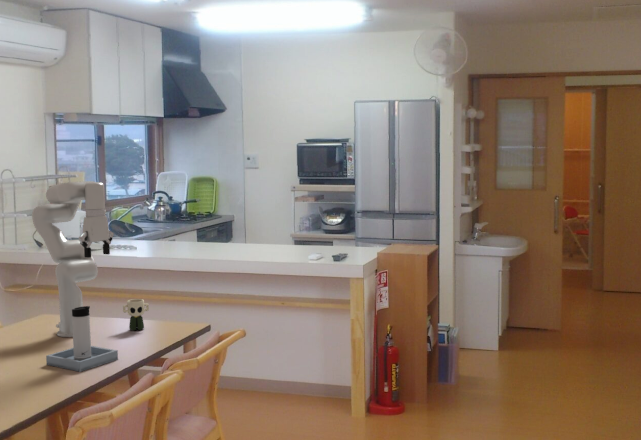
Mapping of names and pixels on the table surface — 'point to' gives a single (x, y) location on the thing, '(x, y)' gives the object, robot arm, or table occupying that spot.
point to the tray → (67, 360)
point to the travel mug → (81, 333)
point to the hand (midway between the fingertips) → (97, 255)
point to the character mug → (136, 313)
